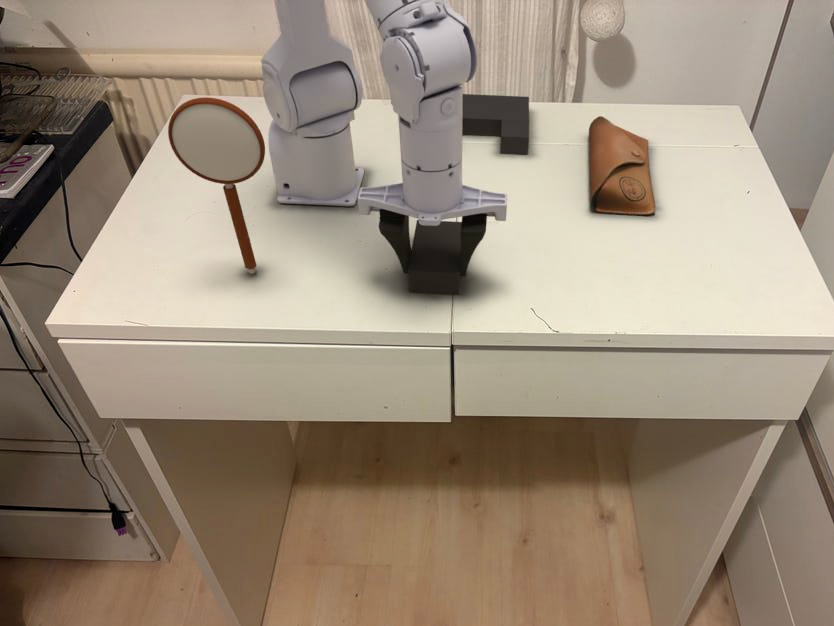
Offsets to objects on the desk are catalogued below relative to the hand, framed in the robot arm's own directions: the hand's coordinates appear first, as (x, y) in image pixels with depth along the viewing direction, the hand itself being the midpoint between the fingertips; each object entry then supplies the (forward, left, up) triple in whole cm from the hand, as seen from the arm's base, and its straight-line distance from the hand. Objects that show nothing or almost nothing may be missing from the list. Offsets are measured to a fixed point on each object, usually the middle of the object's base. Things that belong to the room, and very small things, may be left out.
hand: (435, 269), depth 76 cm
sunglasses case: (+22, +23, -2) cm, 32 cm away
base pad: (+3, +33, -2) cm, 33 cm away
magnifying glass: (-20, 0, -2) cm, 20 cm away
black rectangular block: (0, +2, -2) cm, 3 cm away
